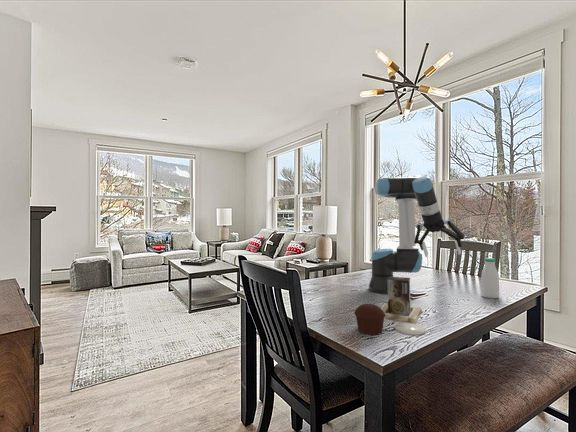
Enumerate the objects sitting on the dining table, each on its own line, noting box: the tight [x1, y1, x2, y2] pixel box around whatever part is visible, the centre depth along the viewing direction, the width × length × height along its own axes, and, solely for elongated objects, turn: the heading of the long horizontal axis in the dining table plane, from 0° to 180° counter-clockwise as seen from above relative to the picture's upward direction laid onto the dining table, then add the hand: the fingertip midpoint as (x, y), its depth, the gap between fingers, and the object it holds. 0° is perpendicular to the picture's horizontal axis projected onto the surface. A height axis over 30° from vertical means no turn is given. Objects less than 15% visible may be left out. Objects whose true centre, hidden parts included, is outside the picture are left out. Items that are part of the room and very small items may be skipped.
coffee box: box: [387, 276, 411, 317], centre depth 137 cm, size 9×6×16 cm
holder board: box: [380, 302, 423, 324], centre depth 137 cm, size 16×16×2 cm
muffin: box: [353, 303, 385, 337], centre depth 120 cm, size 12×11×10 cm
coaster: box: [394, 322, 426, 336], centre depth 121 cm, size 11×11×1 cm
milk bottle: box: [480, 257, 500, 299], centre depth 162 cm, size 8×8×20 cm
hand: (442, 254), depth 139 cm, fingers open, 13 cm apart
